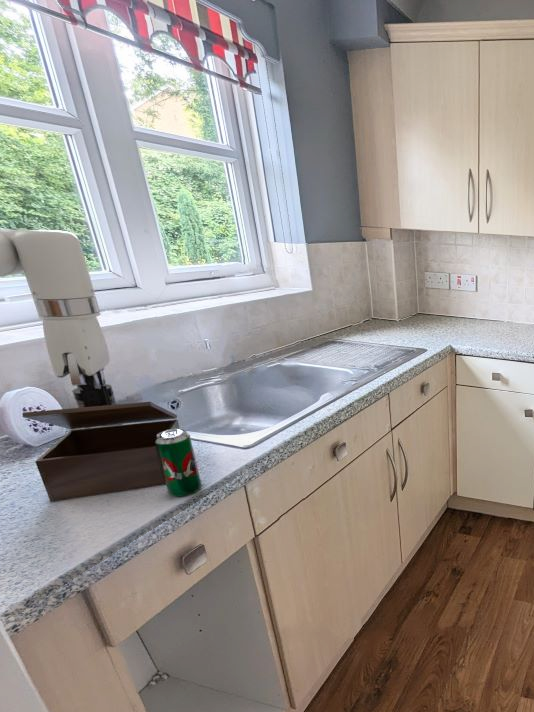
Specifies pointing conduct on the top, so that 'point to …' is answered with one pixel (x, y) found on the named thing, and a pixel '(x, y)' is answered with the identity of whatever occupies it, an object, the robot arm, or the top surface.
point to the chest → (104, 460)
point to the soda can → (178, 462)
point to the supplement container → (81, 404)
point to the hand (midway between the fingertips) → (99, 408)
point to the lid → (102, 415)
